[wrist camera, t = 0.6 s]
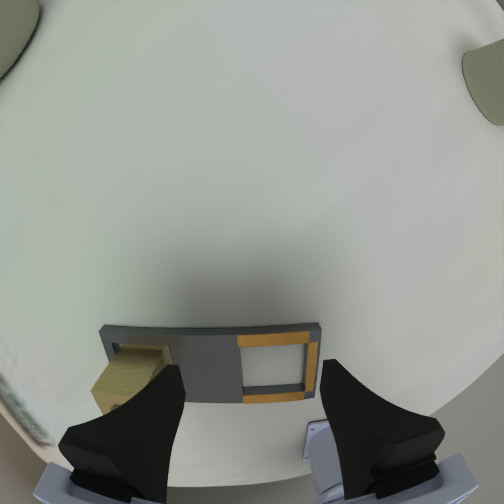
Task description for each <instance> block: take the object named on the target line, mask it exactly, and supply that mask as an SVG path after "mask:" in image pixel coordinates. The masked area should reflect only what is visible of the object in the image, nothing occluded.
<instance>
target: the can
mask: <svg viewBox="0 0 504 504" xmlns="http://www.w3.org/2000/svg"><path fill="white" fill-rule="evenodd" d="M462 69H463V74H464V78H465V82H466V85H467V87H468V90H469V92H470V94H471V96H472V98H473V100H474V102H475V103H476V105H477V107H478V108H479V110H480V111H481V112H482V113H483V115H484V116H485V117H486V118H487V119H488V120H489V121H491V122H492V123H494V124H496V125H504V39H501V40H499V41H497V42H494V43H492V44H489V45H487V46H484V47H482V48H479V49H477V50H474V51H469V52H467V53H466V54H465V55H464V57H463V61H462Z"/></svg>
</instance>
